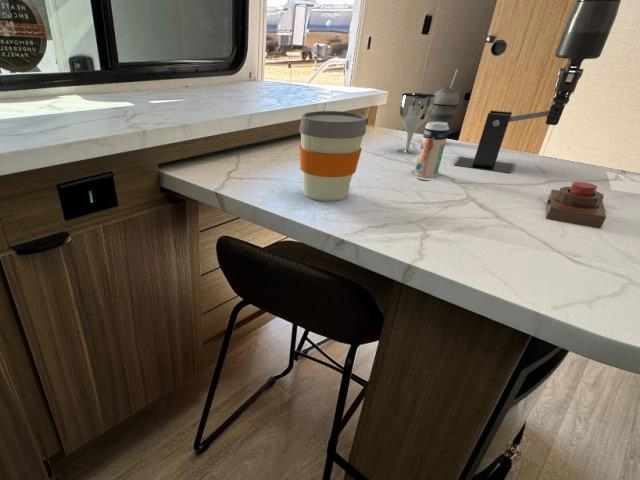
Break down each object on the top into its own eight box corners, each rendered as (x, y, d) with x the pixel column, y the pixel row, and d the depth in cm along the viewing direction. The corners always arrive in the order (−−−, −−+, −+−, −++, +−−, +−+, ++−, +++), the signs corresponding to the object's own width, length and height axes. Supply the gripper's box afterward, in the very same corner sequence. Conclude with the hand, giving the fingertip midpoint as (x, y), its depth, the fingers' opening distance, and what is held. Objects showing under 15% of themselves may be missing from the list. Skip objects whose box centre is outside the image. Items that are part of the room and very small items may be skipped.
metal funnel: (423, 161, 108) (439, 97, 99) (392, 159, 109) (404, 96, 101) (418, 153, 114) (432, 93, 106) (388, 152, 115) (399, 92, 107)
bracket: (511, 168, 102) (531, 112, 95) (508, 177, 96) (529, 118, 88) (459, 161, 107) (474, 107, 100) (452, 169, 101) (468, 113, 94)
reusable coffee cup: (342, 182, 92) (352, 109, 84) (365, 202, 82) (379, 121, 74) (287, 185, 91) (292, 111, 82) (305, 206, 80) (312, 123, 72)
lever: (561, 115, 91) (562, 103, 90) (561, 118, 87) (562, 106, 86) (491, 126, 98) (492, 115, 97) (489, 129, 95) (489, 118, 94)
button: (568, 189, 77) (572, 180, 76) (592, 193, 76) (596, 184, 75) (568, 195, 75) (573, 185, 74) (593, 199, 73) (597, 189, 72)
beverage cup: (427, 143, 125) (445, 67, 114) (451, 147, 120) (472, 69, 109) (415, 147, 120) (433, 68, 109) (439, 151, 116) (460, 70, 105)
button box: (547, 200, 83) (555, 180, 81) (596, 207, 79) (606, 187, 77) (545, 219, 75) (554, 197, 73) (600, 228, 71) (611, 206, 69)
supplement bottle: (412, 175, 97) (424, 120, 91) (433, 176, 96) (447, 121, 90) (415, 181, 93) (428, 124, 87) (437, 182, 92) (452, 125, 86)
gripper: (613, 30, 74) (572, 129, 84) (607, 30, 84) (571, 119, 94) (563, 30, 78) (529, 125, 87) (564, 30, 88) (533, 116, 97)
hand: (551, 122), depth 90 cm, fingers open, 5 cm apart
